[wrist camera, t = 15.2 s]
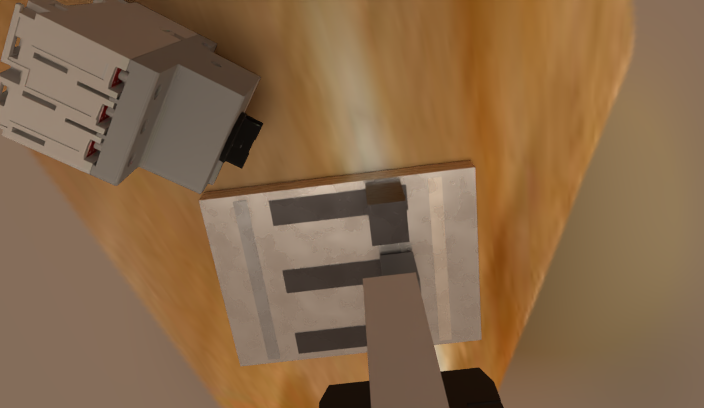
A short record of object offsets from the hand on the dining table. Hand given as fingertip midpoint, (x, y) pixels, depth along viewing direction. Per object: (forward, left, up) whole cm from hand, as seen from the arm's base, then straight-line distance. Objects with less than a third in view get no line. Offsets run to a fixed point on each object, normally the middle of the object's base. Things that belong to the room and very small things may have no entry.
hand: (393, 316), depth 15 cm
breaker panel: (+16, -3, -32) cm, 36 cm away
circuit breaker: (-3, -14, -33) cm, 36 cm away
